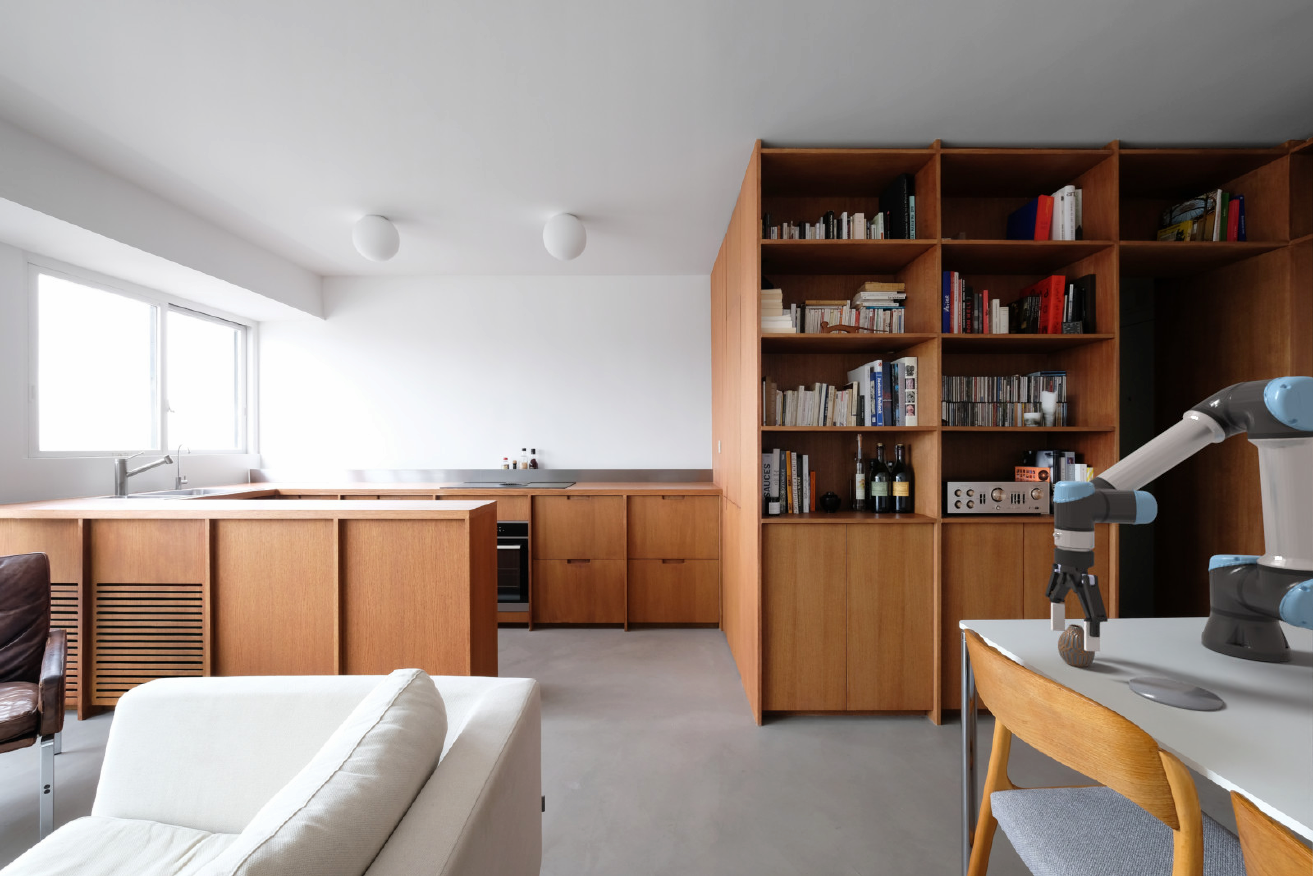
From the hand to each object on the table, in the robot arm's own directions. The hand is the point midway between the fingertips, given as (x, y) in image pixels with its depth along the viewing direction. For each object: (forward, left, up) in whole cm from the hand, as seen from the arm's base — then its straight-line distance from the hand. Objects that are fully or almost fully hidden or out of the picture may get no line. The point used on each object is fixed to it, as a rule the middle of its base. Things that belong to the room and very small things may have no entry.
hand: (1074, 640), depth 132 cm
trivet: (-10, +15, -5) cm, 19 cm away
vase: (0, 0, -6) cm, 6 cm away
